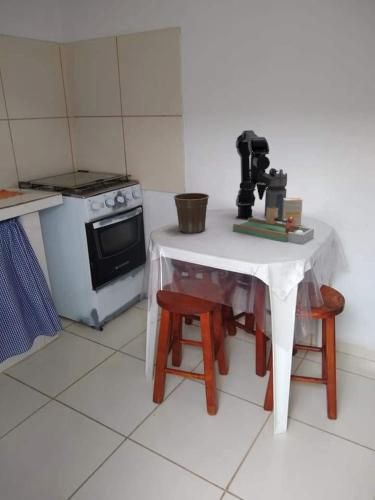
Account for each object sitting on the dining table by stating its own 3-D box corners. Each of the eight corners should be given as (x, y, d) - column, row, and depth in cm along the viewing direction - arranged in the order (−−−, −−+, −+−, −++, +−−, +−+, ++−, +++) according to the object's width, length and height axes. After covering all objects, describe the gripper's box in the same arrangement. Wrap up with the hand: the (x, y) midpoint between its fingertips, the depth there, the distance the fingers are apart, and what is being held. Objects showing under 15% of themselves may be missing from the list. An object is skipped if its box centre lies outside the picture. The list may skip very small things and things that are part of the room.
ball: (300, 241, 166) (292, 238, 168) (304, 239, 168) (296, 236, 171) (302, 232, 164) (293, 230, 166) (306, 230, 167) (297, 227, 169)
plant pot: (173, 225, 192) (172, 193, 186) (206, 224, 193) (206, 191, 188) (175, 235, 177) (174, 200, 171) (211, 234, 178) (211, 198, 172)
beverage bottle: (277, 213, 210) (280, 165, 201) (288, 219, 197) (292, 169, 189) (259, 214, 208) (261, 166, 199) (269, 221, 196) (272, 170, 187)
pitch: (232, 231, 181) (233, 223, 179) (249, 224, 191) (249, 216, 189) (300, 245, 161) (301, 235, 159) (314, 236, 171) (315, 227, 169)
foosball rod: (264, 228, 175) (265, 207, 172) (270, 226, 178) (271, 205, 175) (289, 233, 167) (291, 211, 164) (295, 230, 171) (296, 209, 168)
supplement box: (299, 224, 189) (301, 197, 185) (300, 227, 185) (302, 199, 181) (281, 224, 190) (283, 197, 186) (282, 227, 186) (284, 199, 181)
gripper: (262, 170, 162) (260, 208, 168) (283, 165, 176) (281, 200, 181) (239, 168, 169) (238, 204, 174) (261, 164, 183) (260, 197, 188)
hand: (255, 201), depth 179 cm, fingers open, 9 cm apart
